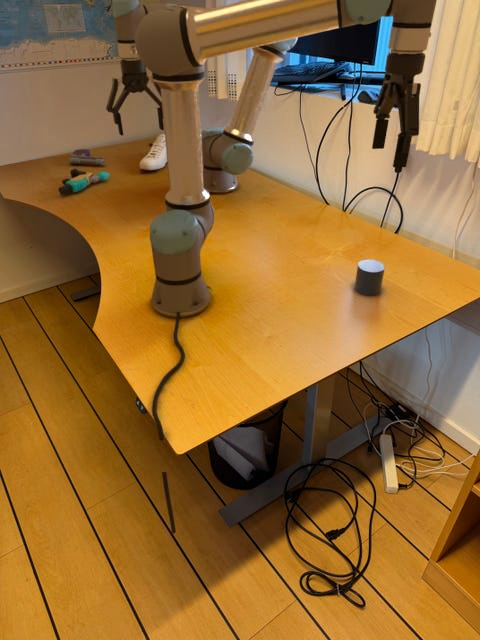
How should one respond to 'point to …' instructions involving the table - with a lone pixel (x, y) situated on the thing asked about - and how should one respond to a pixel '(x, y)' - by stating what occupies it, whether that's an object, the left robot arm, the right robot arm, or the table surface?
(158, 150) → the sneaker
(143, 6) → the right robot arm
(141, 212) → the table surface
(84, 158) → the toy gun
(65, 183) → the toy gun
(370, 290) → the cylinder
